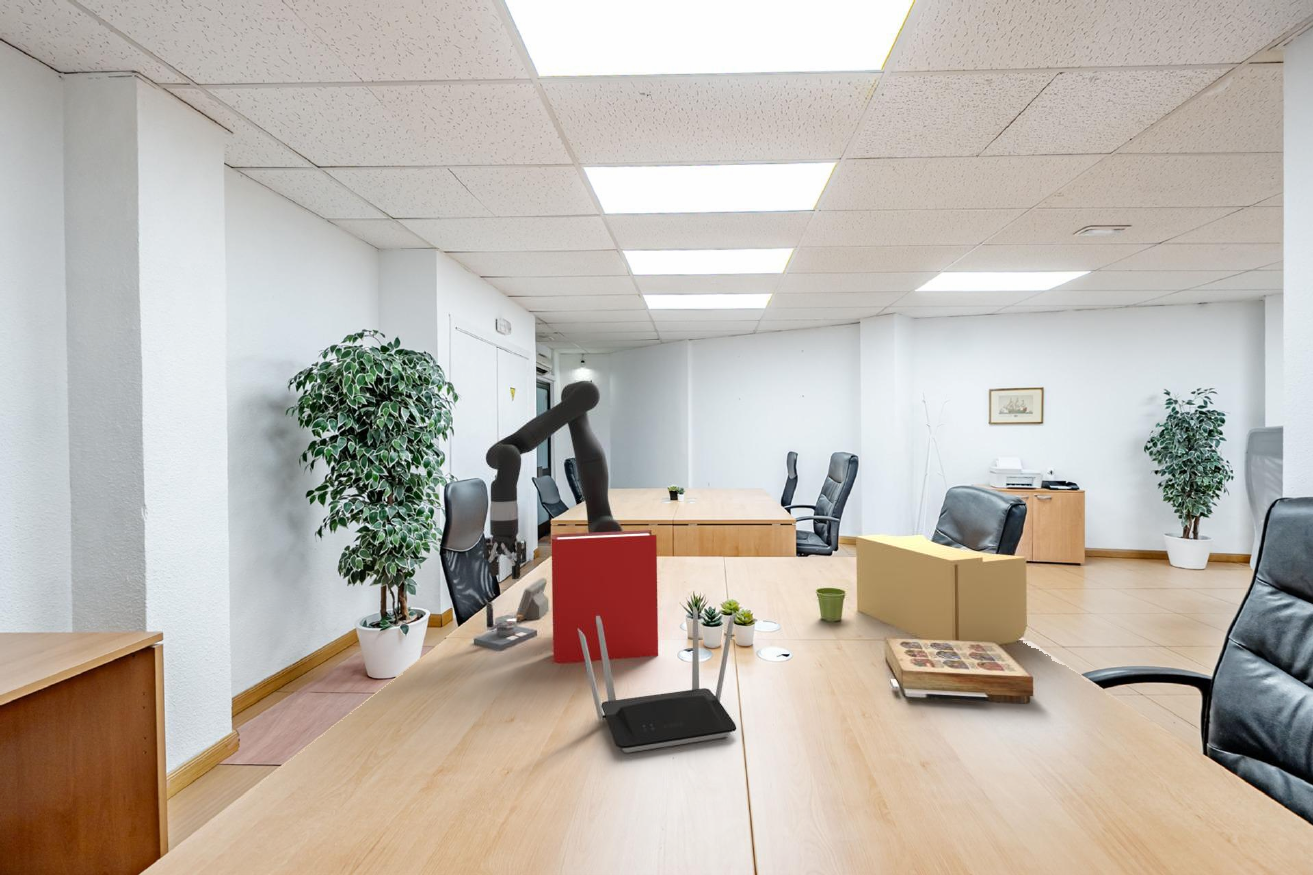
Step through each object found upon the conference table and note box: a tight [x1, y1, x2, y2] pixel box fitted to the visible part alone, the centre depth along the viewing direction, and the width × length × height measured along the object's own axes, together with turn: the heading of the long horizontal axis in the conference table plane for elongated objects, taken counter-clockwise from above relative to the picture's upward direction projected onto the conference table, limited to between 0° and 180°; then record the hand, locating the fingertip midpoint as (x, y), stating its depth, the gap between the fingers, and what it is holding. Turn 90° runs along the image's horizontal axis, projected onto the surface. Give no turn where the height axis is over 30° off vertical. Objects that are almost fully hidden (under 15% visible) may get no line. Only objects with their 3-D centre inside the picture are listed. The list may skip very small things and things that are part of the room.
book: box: [550, 529, 659, 665], centre depth 160 cm, size 27×8×32 cm, turn 100°
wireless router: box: [578, 606, 737, 754], centre depth 122 cm, size 34×23×20 cm
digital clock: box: [515, 577, 549, 622], centre depth 196 cm, size 16×9×11 cm, turn 160°
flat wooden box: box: [883, 637, 1034, 704], centre depth 139 cm, size 25×6×28 cm
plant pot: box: [815, 587, 847, 622], centre depth 187 cm, size 9×9×9 cm
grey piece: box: [485, 601, 523, 632], centre depth 172 cm, size 6×13×8 cm, turn 149°
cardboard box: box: [855, 534, 1028, 646], centre depth 181 cm, size 40×26×24 cm, turn 18°
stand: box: [473, 625, 538, 651], centre depth 173 cm, size 11×14×4 cm
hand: (505, 577), depth 164 cm, fingers open, 7 cm apart
